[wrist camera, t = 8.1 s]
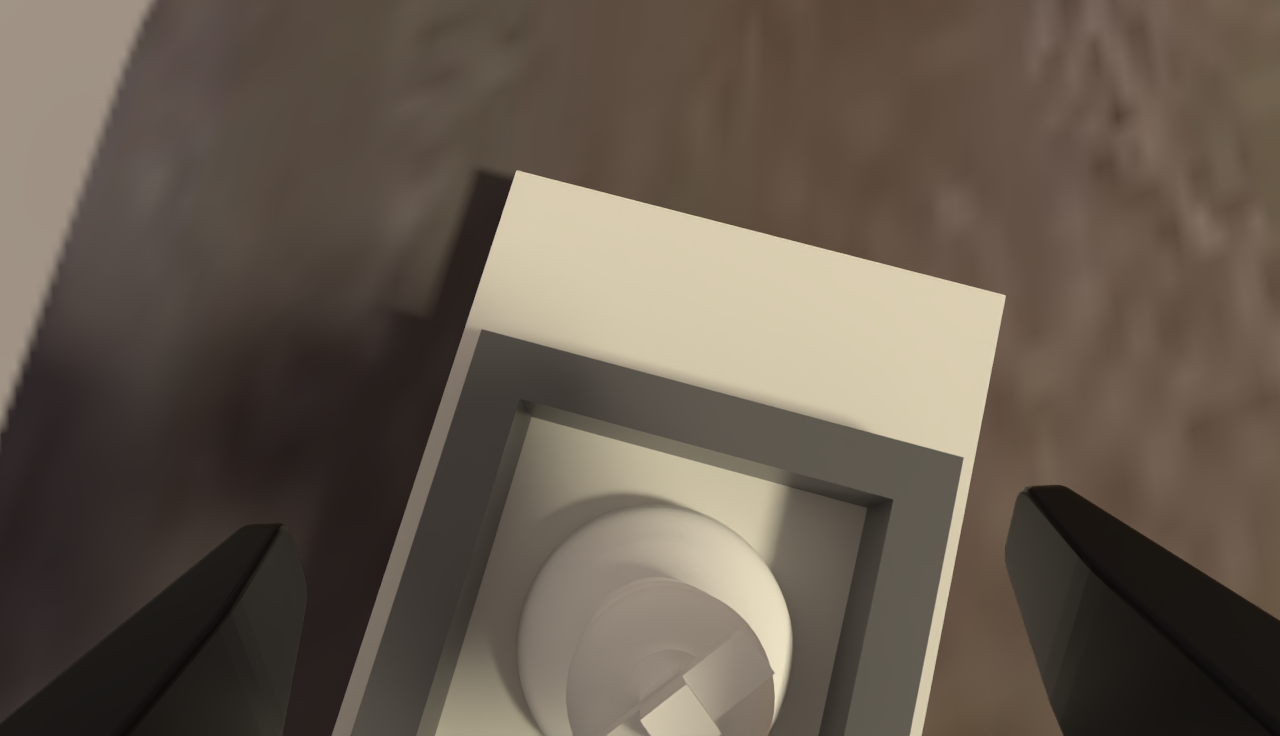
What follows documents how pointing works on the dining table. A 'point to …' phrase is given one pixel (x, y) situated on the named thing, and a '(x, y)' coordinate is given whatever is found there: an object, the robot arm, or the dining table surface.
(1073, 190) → the dining table surface
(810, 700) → the board
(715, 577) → the chess piece
